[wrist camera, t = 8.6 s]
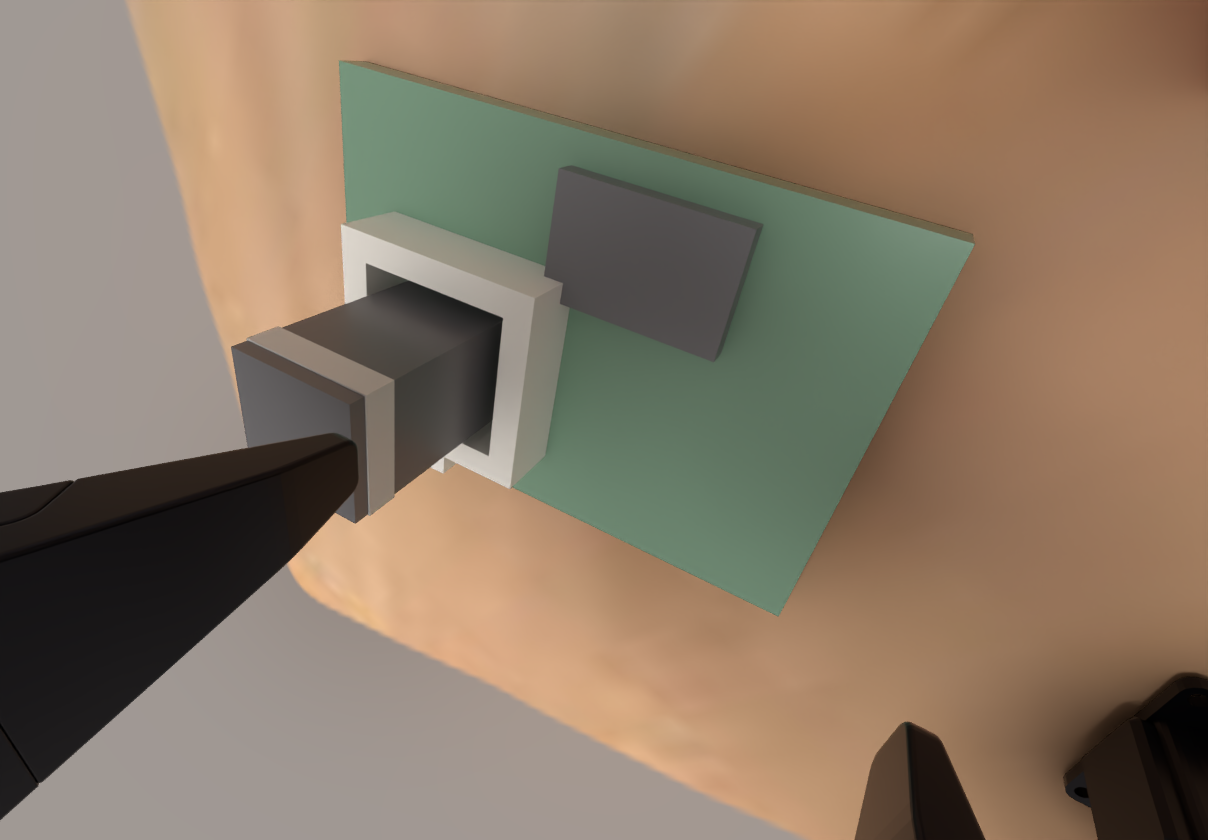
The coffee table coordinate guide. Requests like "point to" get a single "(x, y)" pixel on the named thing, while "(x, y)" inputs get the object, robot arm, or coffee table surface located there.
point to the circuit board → (646, 318)
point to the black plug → (375, 383)
